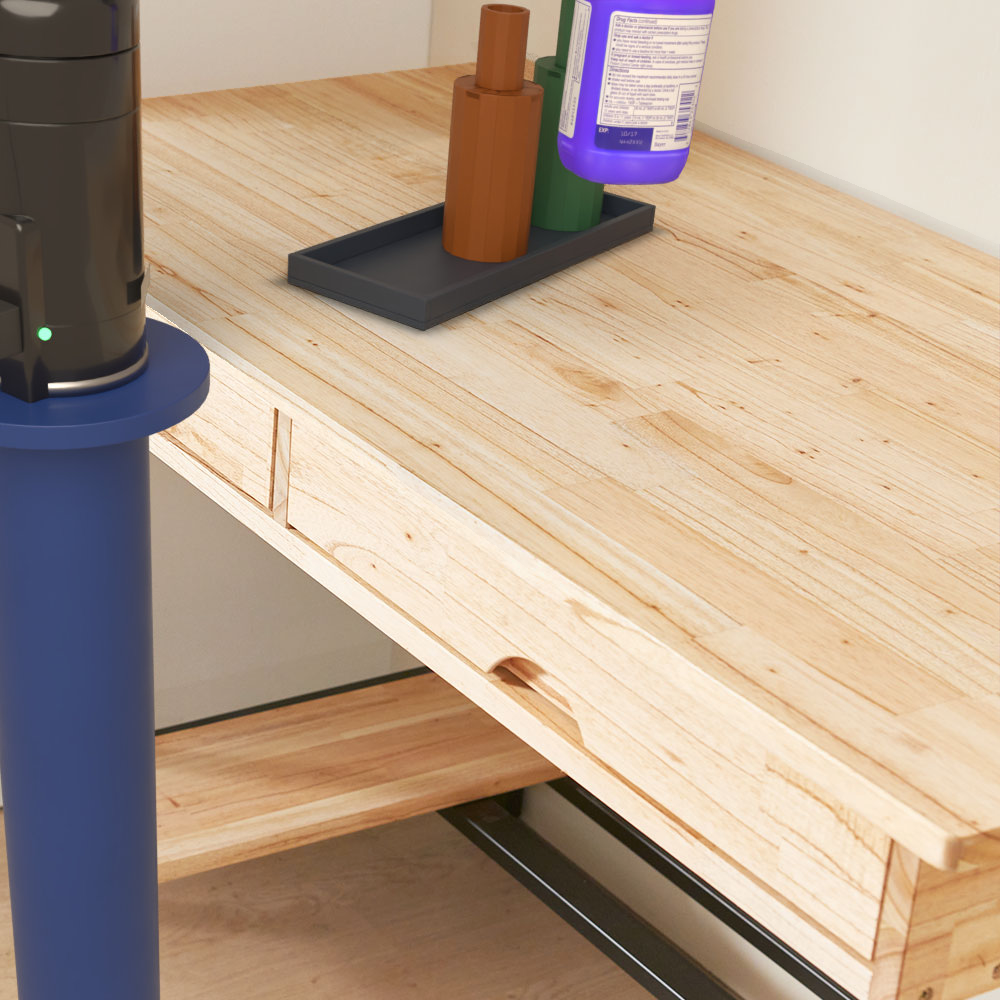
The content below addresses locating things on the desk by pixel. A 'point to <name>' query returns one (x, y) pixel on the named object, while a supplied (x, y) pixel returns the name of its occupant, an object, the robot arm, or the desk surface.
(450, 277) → the tray
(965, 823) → the desk surface
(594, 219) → the green bottle
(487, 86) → the amber bottle
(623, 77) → the bottle
